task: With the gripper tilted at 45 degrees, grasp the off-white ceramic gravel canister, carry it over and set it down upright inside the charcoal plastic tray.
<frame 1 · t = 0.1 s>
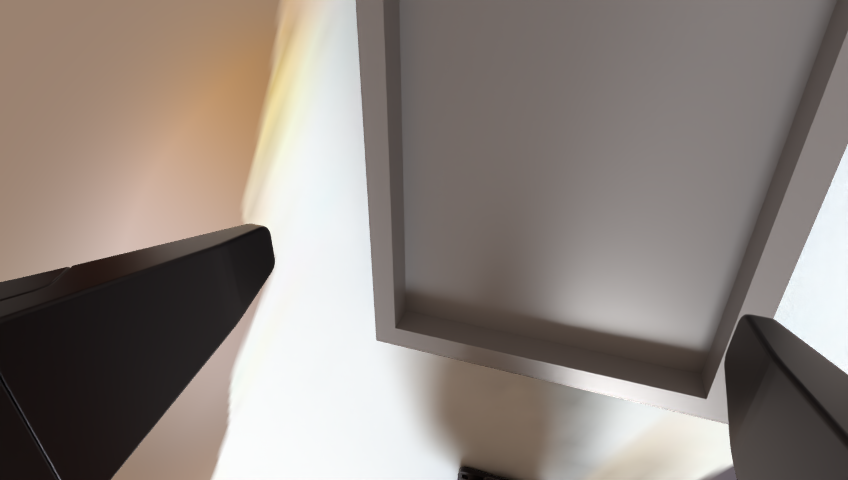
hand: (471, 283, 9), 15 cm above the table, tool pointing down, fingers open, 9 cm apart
tray: (570, 140, 22), on the table
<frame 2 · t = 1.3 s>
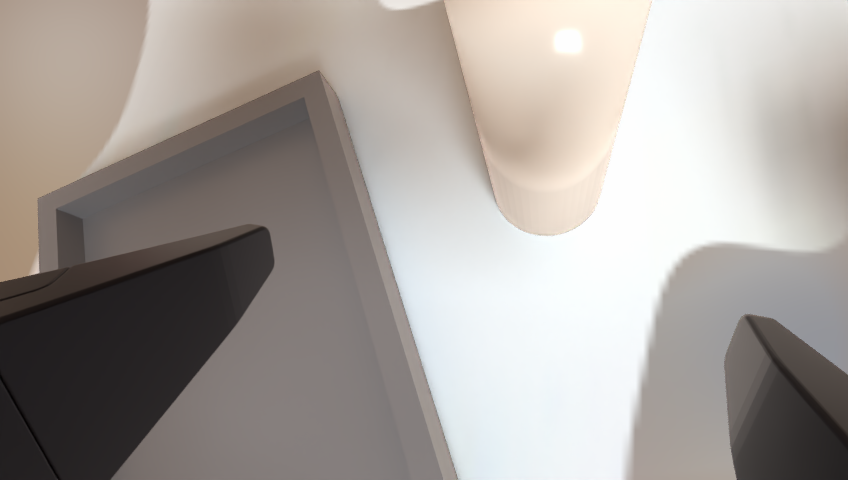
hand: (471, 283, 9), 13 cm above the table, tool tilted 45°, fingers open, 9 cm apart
canister: (546, 186, 24), on the table
tray: (236, 349, 25), on the table
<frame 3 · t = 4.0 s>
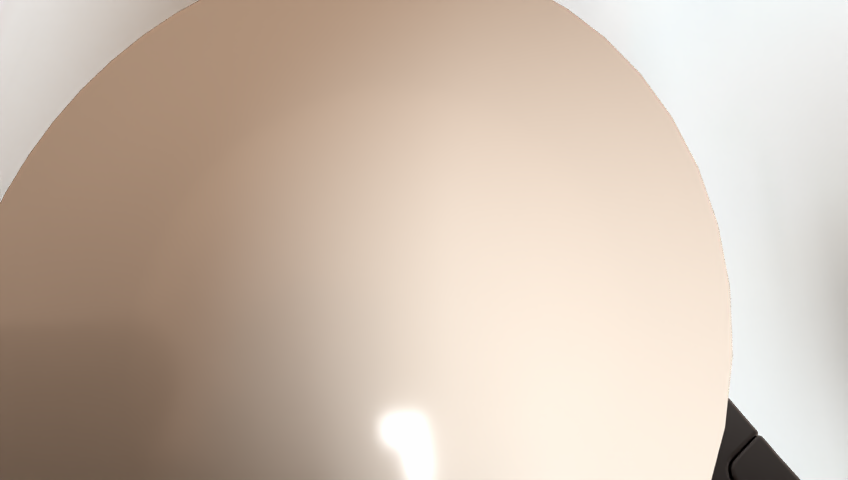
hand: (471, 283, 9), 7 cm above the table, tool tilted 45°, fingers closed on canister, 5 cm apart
canister: (492, 372, 15), on the table, touching gripper
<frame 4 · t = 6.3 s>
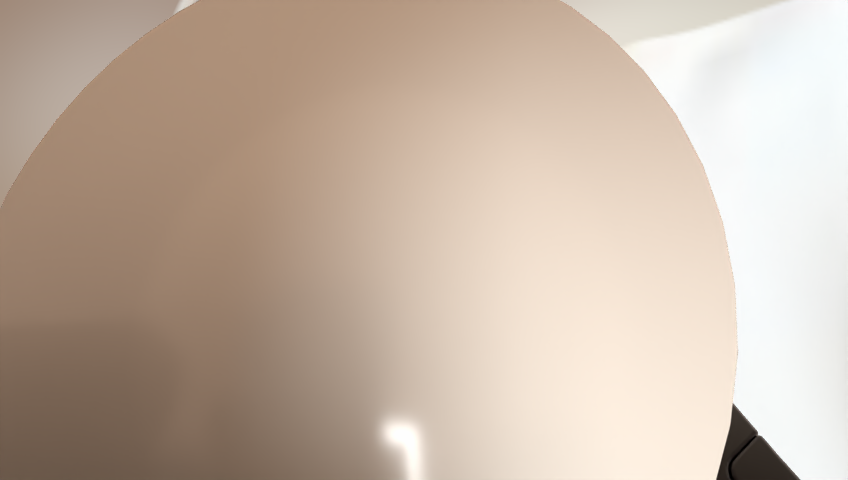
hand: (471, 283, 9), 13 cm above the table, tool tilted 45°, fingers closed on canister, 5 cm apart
canister: (492, 372, 15), point 7 cm above the table, touching gripper
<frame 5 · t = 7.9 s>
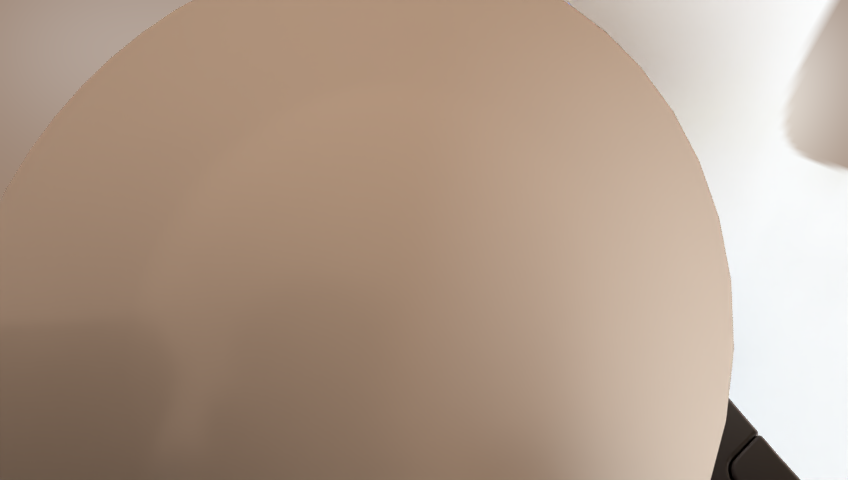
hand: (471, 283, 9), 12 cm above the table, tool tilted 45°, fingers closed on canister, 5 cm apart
canister: (492, 371, 15), point 6 cm above the table, touching gripper
when the fingers open (9 cm above the table, at t = 9.0 s): canister drops 1 cm, resting on tray.
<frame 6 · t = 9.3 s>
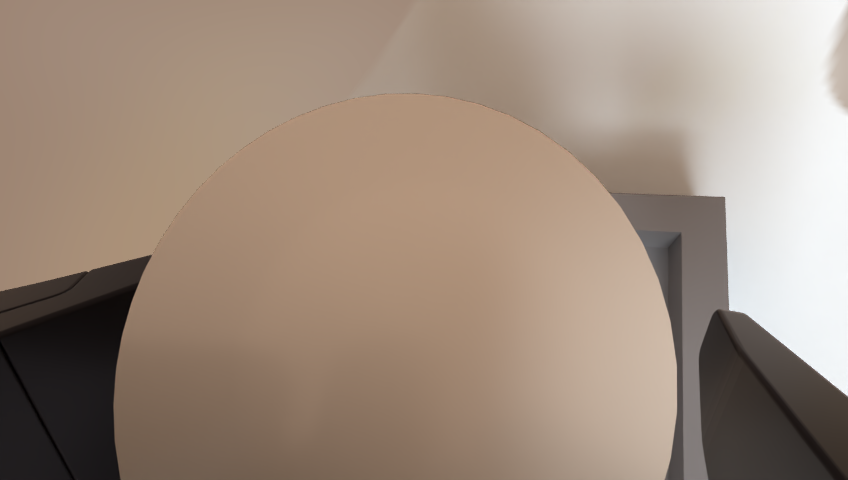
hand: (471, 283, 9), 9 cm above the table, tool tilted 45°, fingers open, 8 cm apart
canister: (496, 376, 16), point 1 cm above the table, touching tray
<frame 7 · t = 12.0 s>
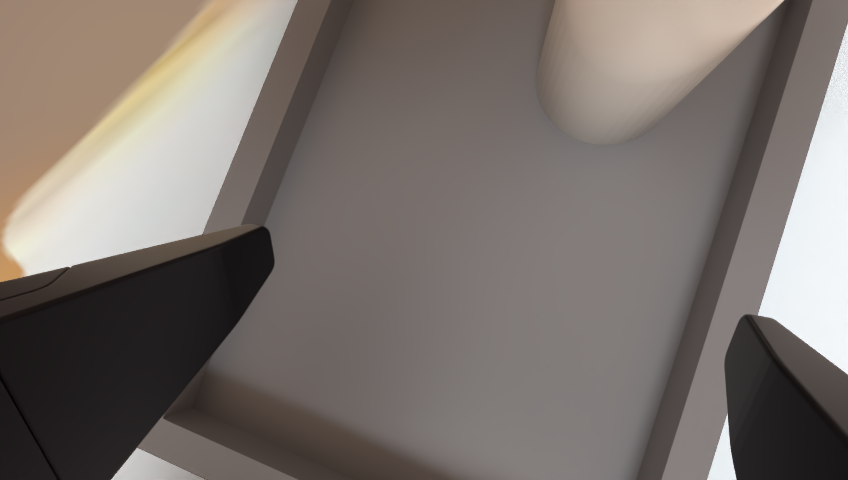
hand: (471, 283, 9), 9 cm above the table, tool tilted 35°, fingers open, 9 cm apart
canister: (604, 80, 18), point 1 cm above the table, touching tray
tray: (485, 210, 19), on the table
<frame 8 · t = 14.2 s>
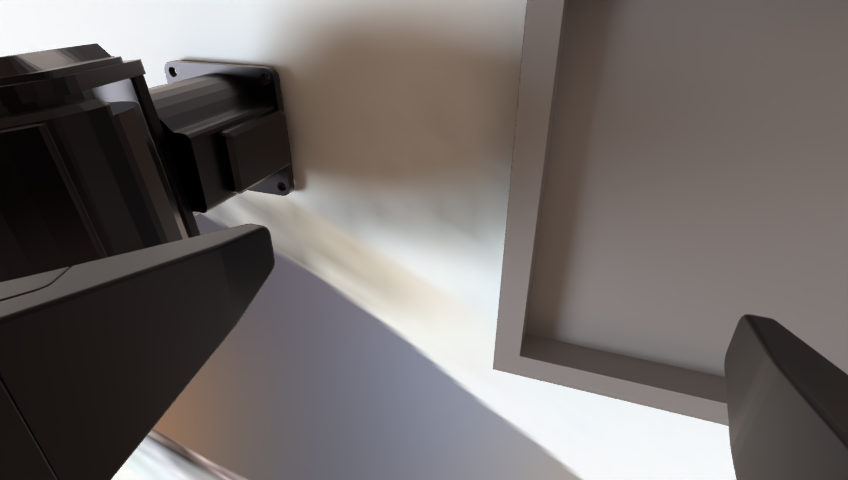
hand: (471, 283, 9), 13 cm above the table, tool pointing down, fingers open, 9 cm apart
tray: (838, 220, 18), on the table
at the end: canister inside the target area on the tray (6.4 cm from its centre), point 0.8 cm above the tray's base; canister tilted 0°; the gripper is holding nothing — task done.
